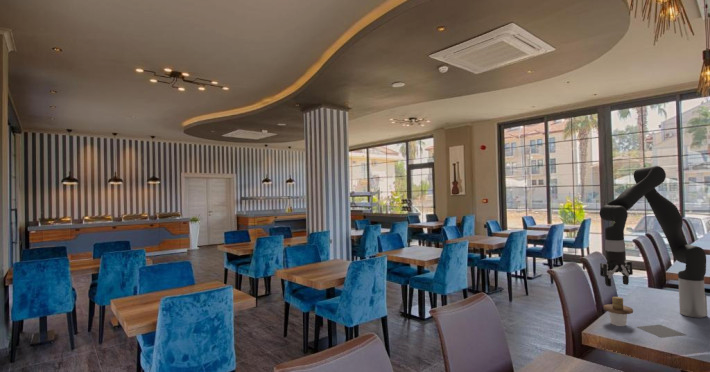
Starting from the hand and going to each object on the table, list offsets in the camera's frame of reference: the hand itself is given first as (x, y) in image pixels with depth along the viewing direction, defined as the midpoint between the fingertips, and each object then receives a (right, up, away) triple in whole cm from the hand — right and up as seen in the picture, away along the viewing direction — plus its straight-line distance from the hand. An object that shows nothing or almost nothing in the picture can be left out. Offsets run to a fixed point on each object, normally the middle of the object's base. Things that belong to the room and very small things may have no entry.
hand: (617, 285), depth 172 cm
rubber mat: (+12, -18, -9) cm, 23 cm away
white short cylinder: (+1, -19, 0) cm, 19 cm away
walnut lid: (+1, -11, 0) cm, 11 cm away
